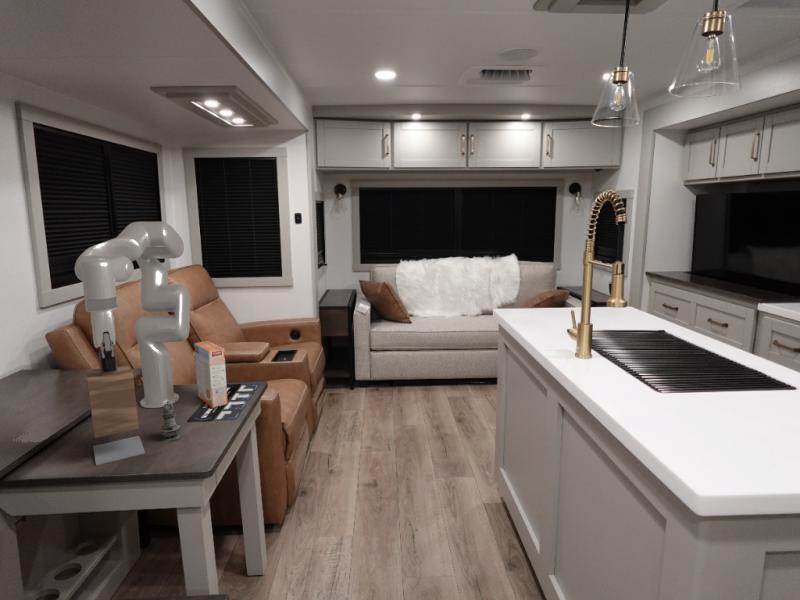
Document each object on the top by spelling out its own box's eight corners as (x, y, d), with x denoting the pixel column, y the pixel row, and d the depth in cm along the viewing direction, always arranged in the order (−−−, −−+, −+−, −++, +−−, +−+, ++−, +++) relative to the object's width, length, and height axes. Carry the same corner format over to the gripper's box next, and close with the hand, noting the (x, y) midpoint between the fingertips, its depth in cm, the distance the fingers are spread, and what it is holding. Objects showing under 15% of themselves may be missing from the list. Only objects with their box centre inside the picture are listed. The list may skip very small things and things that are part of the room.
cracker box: (229, 404, 177) (225, 347, 173) (212, 409, 173) (207, 351, 169) (214, 393, 187) (209, 339, 183) (197, 397, 183) (193, 342, 179)
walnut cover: (92, 424, 143) (83, 351, 139) (134, 415, 149) (126, 345, 145) (95, 438, 135) (85, 360, 131) (138, 428, 141) (130, 353, 137)
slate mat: (93, 448, 145) (93, 446, 145) (139, 437, 152) (139, 435, 152) (96, 465, 136) (95, 463, 135) (144, 453, 142) (144, 451, 142)
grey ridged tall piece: (175, 432, 156) (172, 395, 153) (185, 437, 152) (182, 400, 150) (157, 438, 151) (153, 401, 149) (166, 444, 147) (162, 406, 145)
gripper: (83, 301, 140) (91, 363, 144) (86, 311, 127) (95, 379, 130) (114, 298, 144) (121, 359, 148) (120, 307, 131) (127, 374, 134)
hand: (108, 368), depth 139 cm, fingers closed on walnut cover, 4 cm apart
